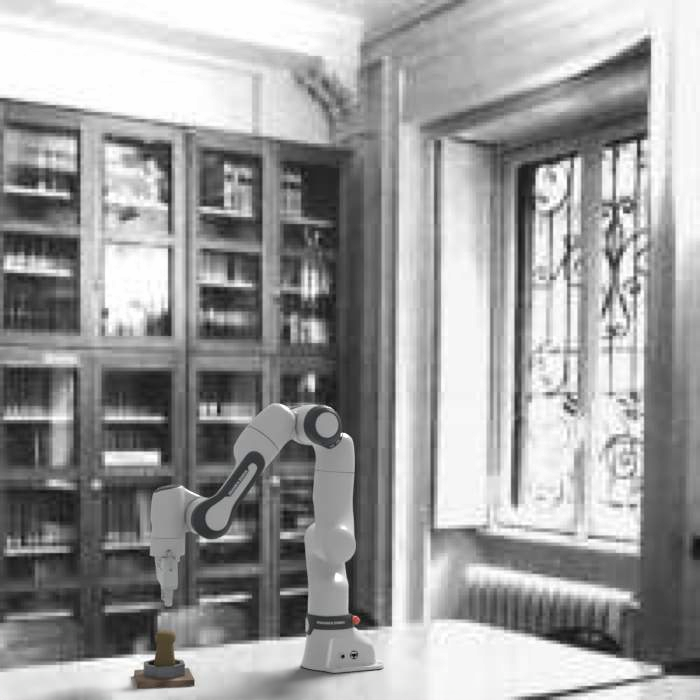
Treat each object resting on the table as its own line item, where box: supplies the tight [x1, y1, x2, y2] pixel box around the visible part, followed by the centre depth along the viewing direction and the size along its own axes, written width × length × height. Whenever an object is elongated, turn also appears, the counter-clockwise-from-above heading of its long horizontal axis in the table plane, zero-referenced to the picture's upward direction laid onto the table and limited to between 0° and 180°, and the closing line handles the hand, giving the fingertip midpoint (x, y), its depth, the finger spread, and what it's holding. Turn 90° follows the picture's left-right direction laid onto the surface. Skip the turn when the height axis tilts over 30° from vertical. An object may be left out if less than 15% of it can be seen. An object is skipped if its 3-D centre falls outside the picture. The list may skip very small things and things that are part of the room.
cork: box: [154, 629, 176, 666], centre depth 278 cm, size 6×6×11 cm
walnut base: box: [133, 667, 195, 689], centre depth 277 cm, size 14×14×2 cm
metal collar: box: [142, 658, 186, 679], centre depth 278 cm, size 10×10×3 cm
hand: (166, 603), depth 279 cm, fingers open, 8 cm apart
